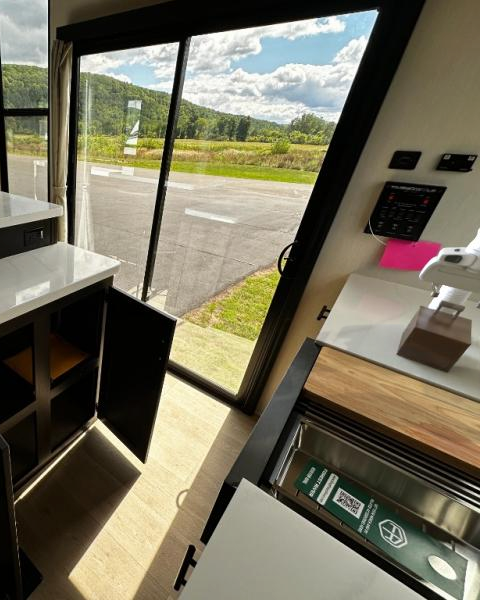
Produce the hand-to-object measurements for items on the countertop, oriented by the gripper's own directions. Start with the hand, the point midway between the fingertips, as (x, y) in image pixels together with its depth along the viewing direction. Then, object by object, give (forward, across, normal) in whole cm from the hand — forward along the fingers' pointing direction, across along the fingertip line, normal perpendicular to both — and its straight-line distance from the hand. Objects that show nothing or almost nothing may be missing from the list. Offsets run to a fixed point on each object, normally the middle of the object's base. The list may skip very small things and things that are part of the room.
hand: (455, 302), depth 94 cm
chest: (+16, 0, +6) cm, 17 cm away
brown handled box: (+6, 0, +6) cm, 8 cm away
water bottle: (+16, -1, -12) cm, 20 cm away
